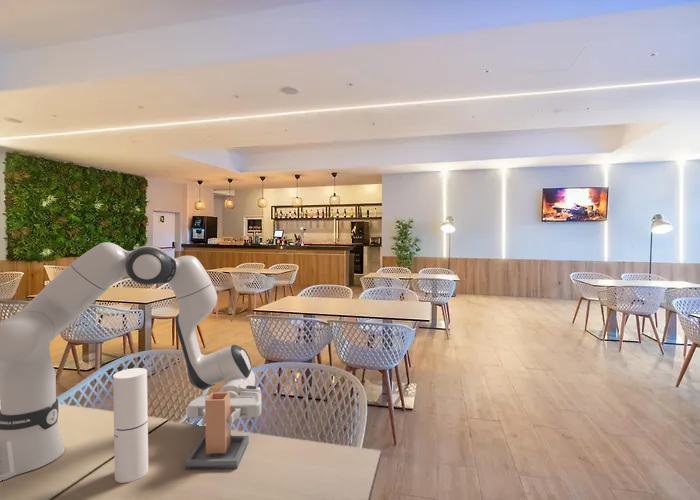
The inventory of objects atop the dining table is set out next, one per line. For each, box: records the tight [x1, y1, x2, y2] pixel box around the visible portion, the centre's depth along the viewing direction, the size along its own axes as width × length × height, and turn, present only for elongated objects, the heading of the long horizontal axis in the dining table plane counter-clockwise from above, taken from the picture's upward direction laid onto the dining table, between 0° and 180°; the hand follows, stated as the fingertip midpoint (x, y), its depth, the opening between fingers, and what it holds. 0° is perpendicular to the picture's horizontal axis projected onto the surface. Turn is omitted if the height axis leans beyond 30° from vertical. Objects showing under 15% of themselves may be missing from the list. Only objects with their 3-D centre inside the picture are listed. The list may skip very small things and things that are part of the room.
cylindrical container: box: [112, 367, 149, 483], centre depth 91 cm, size 7×7×25 cm
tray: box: [184, 435, 249, 471], centre depth 99 cm, size 13×12×2 cm
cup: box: [205, 391, 232, 454], centre depth 99 cm, size 5×5×14 cm
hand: (217, 420), depth 98 cm, fingers closed on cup, 5 cm apart
